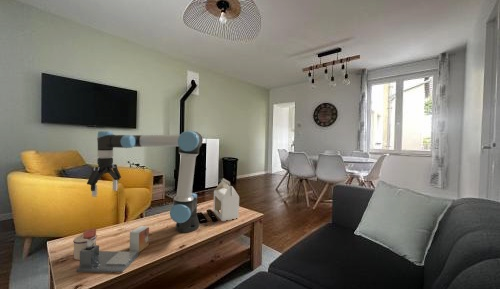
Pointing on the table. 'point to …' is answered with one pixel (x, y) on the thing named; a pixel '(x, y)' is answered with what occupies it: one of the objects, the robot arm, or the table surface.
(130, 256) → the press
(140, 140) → the robot arm
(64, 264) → the table surface
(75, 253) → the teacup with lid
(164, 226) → the table surface
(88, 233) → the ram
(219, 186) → the gable box
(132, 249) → the small box
